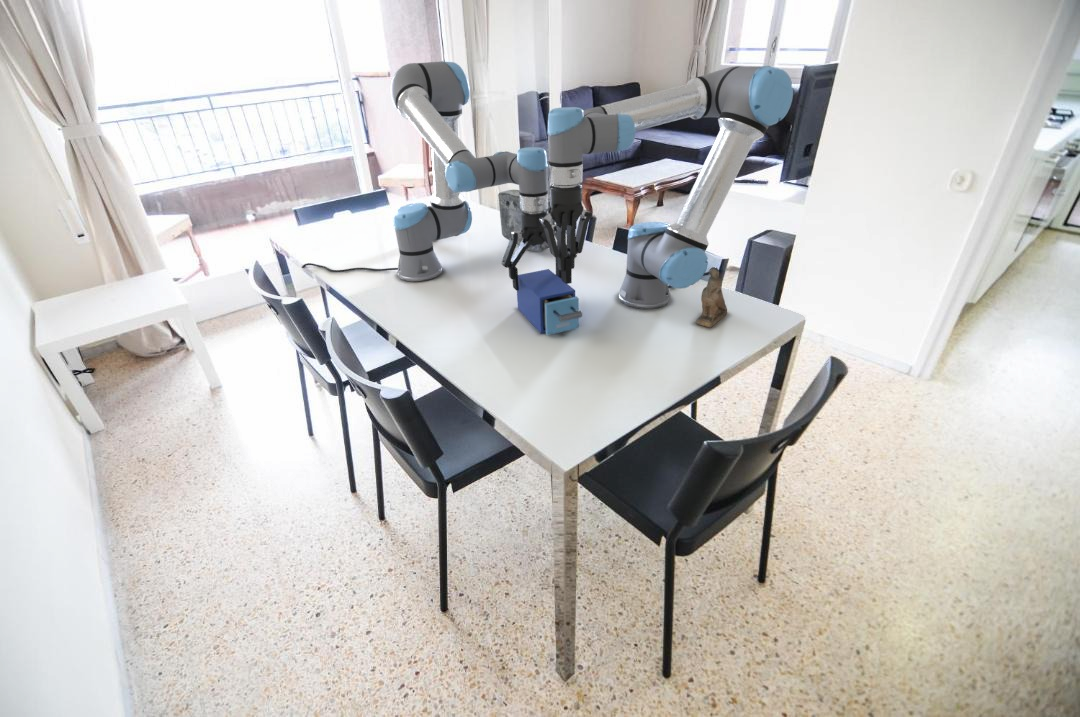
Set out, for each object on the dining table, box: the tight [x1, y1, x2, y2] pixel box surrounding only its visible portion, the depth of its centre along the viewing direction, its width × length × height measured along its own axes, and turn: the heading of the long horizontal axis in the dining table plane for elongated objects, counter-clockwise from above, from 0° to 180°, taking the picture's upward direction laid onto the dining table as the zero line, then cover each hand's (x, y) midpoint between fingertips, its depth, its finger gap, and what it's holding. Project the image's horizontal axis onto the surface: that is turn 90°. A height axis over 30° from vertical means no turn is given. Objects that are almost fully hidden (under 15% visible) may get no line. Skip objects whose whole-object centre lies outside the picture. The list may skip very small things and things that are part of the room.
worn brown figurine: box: [695, 266, 728, 328], centre depth 135 cm, size 12×6×18 cm, turn 136°
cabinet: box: [516, 268, 576, 334], centre depth 141 cm, size 18×10×11 cm, turn 23°
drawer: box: [543, 294, 583, 336], centre depth 136 cm, size 22×9×9 cm, turn 23°
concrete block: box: [497, 189, 554, 252], centre depth 191 cm, size 27×9×20 cm, turn 36°
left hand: (537, 284), depth 144 cm, fingers open, 13 cm apart
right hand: (566, 281), depth 124 cm, fingers closed
